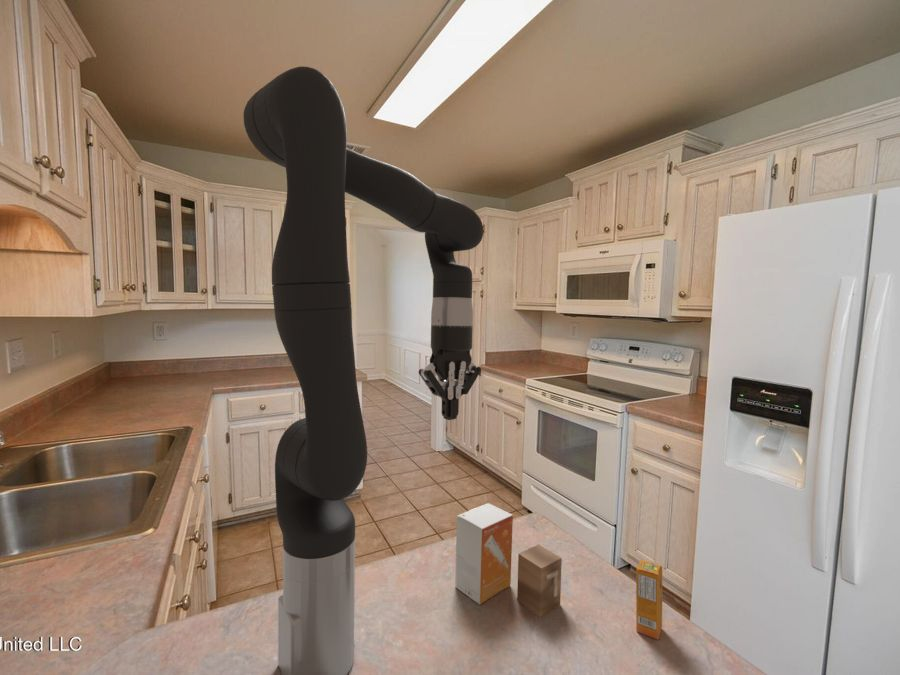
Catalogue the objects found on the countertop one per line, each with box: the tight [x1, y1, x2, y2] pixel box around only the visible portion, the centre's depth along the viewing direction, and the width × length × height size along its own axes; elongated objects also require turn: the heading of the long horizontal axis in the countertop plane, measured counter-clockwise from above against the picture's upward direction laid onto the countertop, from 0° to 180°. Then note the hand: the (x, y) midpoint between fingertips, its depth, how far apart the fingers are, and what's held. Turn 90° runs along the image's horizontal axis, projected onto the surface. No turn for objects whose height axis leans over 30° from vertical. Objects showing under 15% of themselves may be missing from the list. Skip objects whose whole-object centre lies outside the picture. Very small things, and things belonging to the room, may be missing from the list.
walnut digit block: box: [516, 544, 563, 618], centre depth 69 cm, size 5×5×8 cm
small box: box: [454, 502, 514, 605], centre depth 73 cm, size 8×6×13 cm
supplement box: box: [635, 559, 663, 640], centre depth 63 cm, size 3×3×10 cm
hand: (450, 418), depth 75 cm, fingers closed
